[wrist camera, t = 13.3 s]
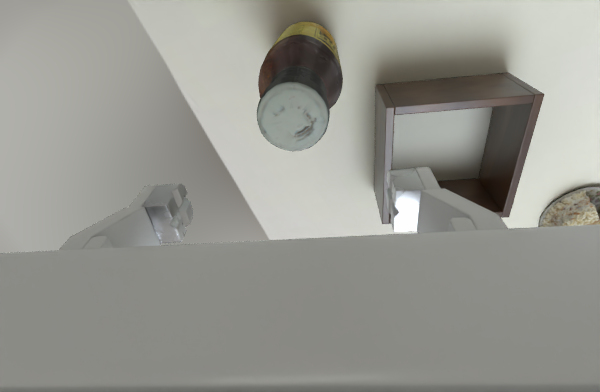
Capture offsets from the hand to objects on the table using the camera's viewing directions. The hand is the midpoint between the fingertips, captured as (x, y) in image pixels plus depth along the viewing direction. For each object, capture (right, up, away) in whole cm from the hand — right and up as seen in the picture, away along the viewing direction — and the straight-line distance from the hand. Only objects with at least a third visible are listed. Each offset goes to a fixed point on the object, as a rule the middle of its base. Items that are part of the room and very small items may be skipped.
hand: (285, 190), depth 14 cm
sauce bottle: (+1, +15, +22) cm, 27 cm away
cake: (+37, -3, +32) cm, 49 cm away
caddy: (+16, +7, +27) cm, 32 cm away
